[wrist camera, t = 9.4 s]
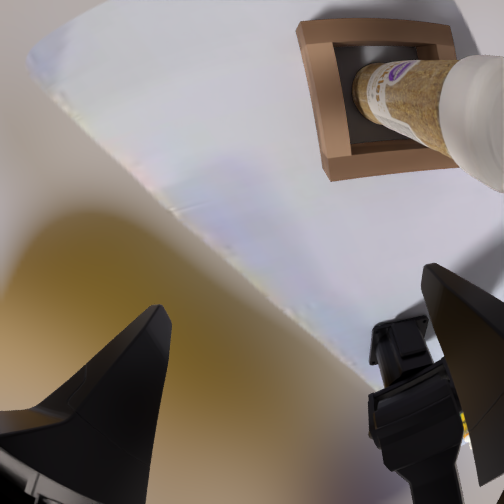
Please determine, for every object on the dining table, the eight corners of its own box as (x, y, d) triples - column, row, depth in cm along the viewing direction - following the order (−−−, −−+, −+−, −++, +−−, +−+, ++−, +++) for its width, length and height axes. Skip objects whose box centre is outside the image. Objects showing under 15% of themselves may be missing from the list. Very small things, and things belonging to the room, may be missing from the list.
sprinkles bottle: (367, 51, 15) (500, 26, 4) (419, 87, 16) (567, 123, 4) (338, 103, 17) (446, 143, 6) (391, 137, 18) (519, 221, 7)
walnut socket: (443, 155, 18) (463, 167, 16) (322, 168, 20) (330, 181, 17) (428, 30, 13) (449, 25, 11) (295, 30, 15) (300, 21, 12)
